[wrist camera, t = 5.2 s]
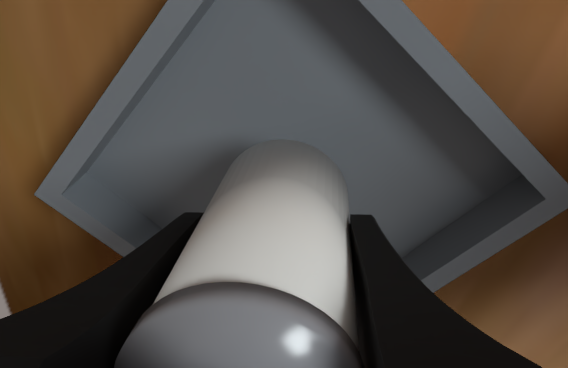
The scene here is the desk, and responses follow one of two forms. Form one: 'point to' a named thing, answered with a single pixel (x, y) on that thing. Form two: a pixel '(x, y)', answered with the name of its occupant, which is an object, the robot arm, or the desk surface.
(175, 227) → the robot arm
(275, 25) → the tray
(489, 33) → the desk surface
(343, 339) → the shaker
